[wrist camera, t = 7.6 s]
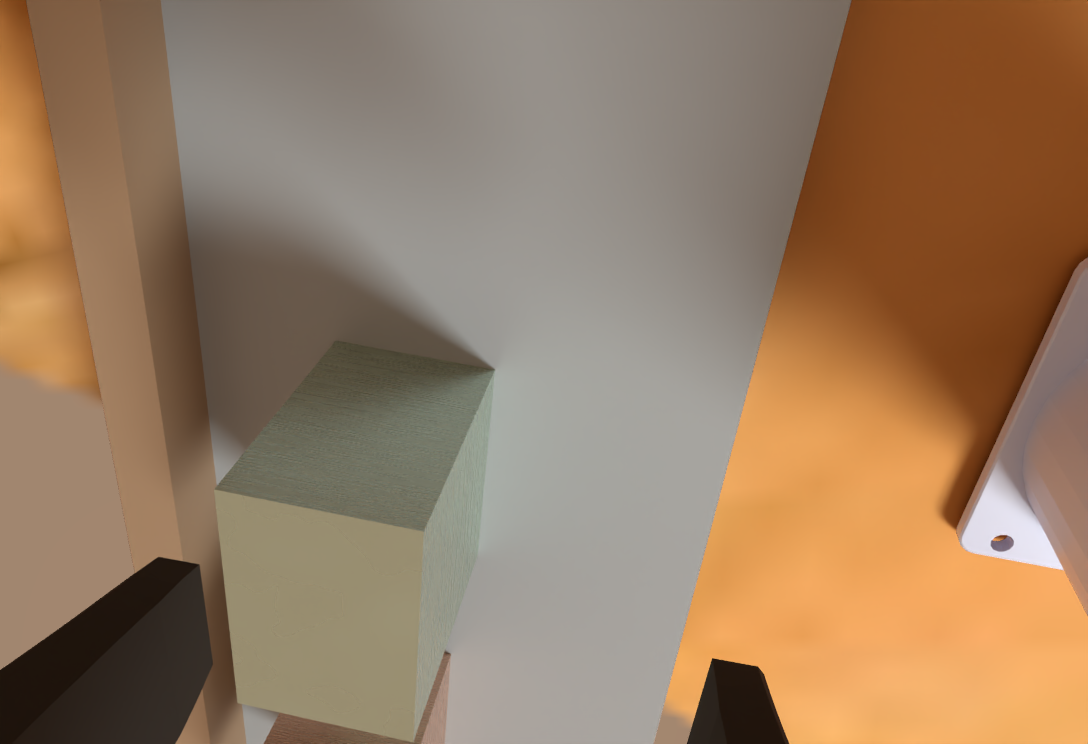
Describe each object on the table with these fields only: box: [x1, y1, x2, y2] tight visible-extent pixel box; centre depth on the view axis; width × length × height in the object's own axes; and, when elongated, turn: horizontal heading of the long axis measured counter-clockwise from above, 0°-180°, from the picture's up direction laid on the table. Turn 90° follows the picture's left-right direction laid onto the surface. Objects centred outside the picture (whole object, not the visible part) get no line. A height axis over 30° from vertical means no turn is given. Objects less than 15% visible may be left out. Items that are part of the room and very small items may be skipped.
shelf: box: [26, 0, 851, 744], centre depth 22 cm, size 15×30×3 cm, turn 174°
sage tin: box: [214, 341, 495, 742], centre depth 20 cm, size 4×6×6 cm
